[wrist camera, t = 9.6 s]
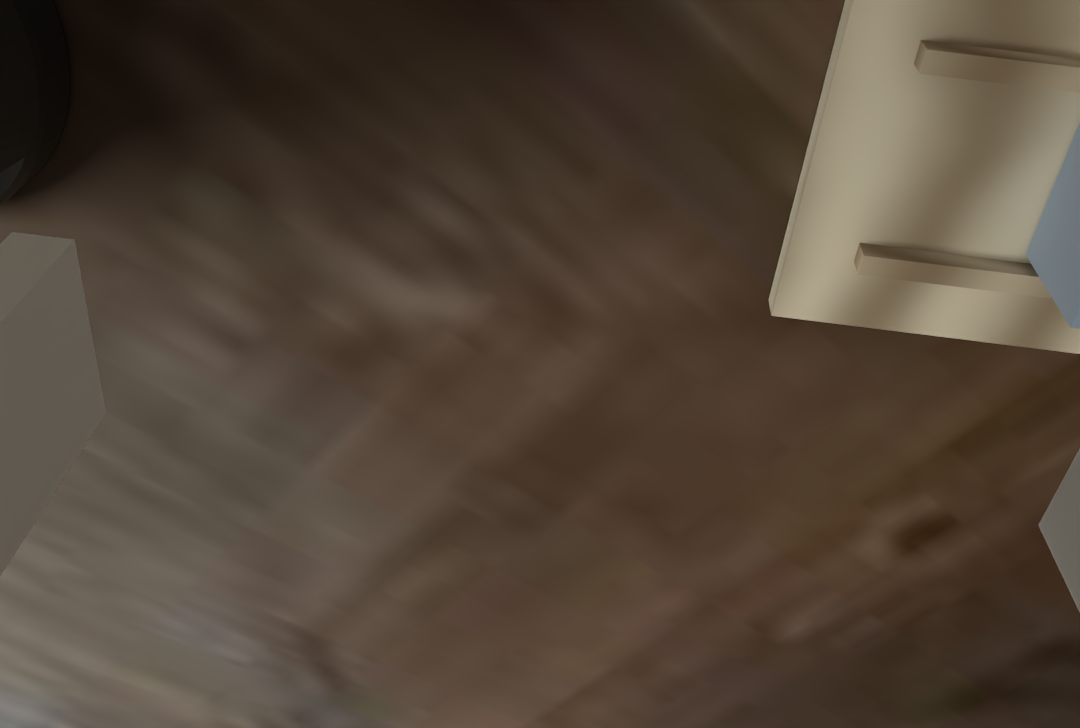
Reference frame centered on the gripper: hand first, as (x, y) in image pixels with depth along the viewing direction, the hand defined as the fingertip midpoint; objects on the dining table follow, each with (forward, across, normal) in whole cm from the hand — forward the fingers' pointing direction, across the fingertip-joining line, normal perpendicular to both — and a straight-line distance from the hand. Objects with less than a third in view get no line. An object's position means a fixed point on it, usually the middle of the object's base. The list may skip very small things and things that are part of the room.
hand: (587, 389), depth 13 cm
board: (+25, +19, -6) cm, 32 cm away
